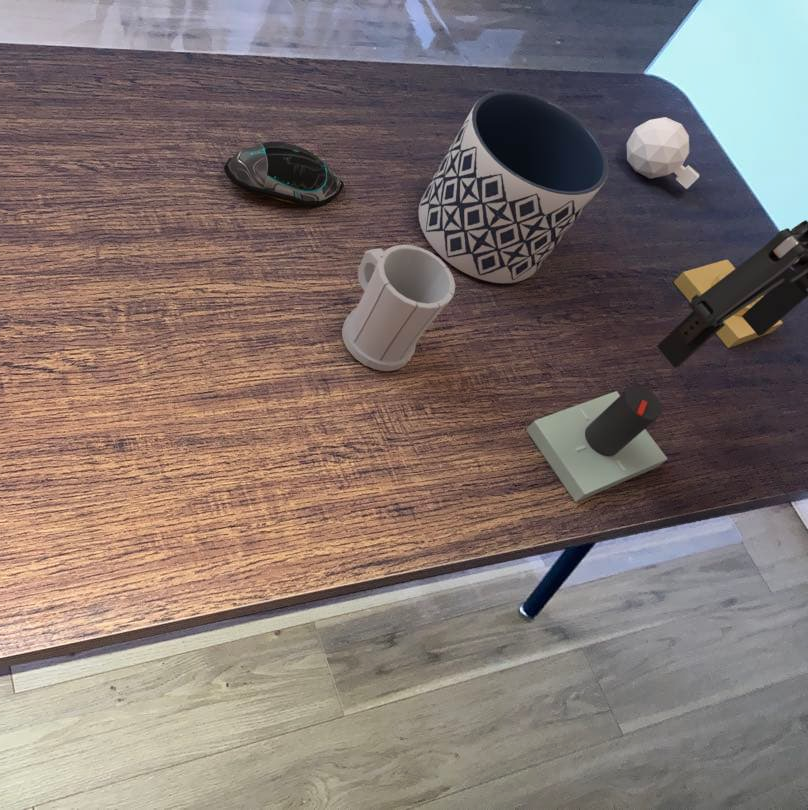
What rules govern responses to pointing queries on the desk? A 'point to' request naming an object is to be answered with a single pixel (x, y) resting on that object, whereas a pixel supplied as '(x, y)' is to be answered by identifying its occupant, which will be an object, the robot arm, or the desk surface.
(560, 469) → the control panel
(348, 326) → the cup
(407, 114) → the desk surface
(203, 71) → the desk surface
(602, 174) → the planter
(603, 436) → the dial
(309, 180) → the computer mouse
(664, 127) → the perfume bottle
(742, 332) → the power box
